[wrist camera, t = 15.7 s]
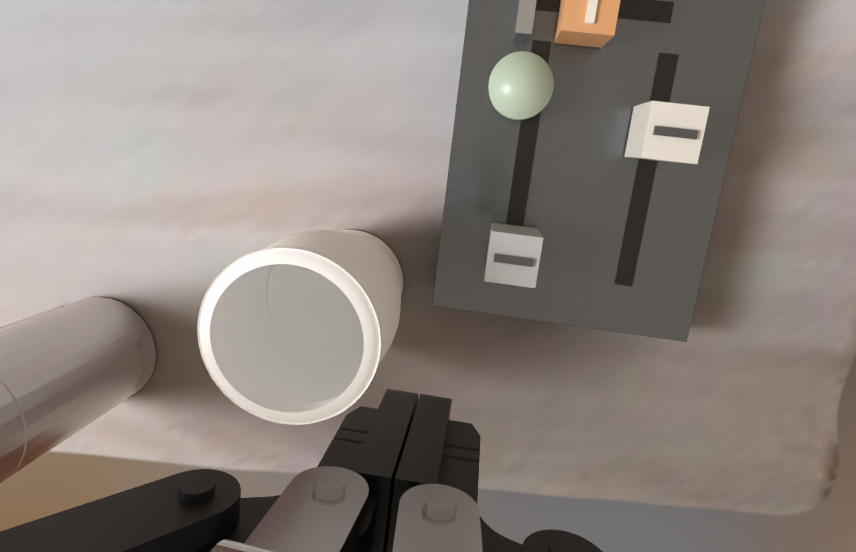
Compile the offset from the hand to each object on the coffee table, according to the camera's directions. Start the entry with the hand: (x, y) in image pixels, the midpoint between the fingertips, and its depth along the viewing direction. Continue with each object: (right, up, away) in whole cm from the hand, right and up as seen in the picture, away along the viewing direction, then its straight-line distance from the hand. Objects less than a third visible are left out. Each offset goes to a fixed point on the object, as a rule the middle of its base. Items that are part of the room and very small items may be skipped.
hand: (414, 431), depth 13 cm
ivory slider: (+15, +13, +24) cm, 31 cm away
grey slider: (+6, +6, +27) cm, 28 cm away
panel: (+11, +14, +29) cm, 34 cm away
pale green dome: (+6, +16, +25) cm, 30 cm away
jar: (-6, +3, +33) cm, 34 cm away
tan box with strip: (+10, +21, +23) cm, 33 cm away
